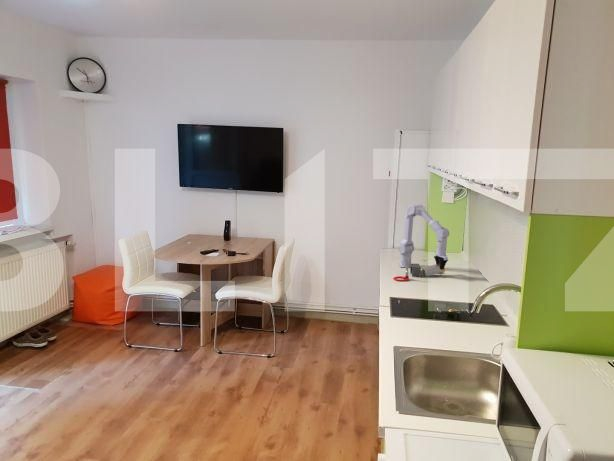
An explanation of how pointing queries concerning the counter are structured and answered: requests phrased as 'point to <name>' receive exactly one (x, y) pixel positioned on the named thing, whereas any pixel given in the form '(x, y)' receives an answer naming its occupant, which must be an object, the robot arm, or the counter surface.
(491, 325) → the counter surface
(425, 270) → the pin
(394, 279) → the tow hook
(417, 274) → the bracket
